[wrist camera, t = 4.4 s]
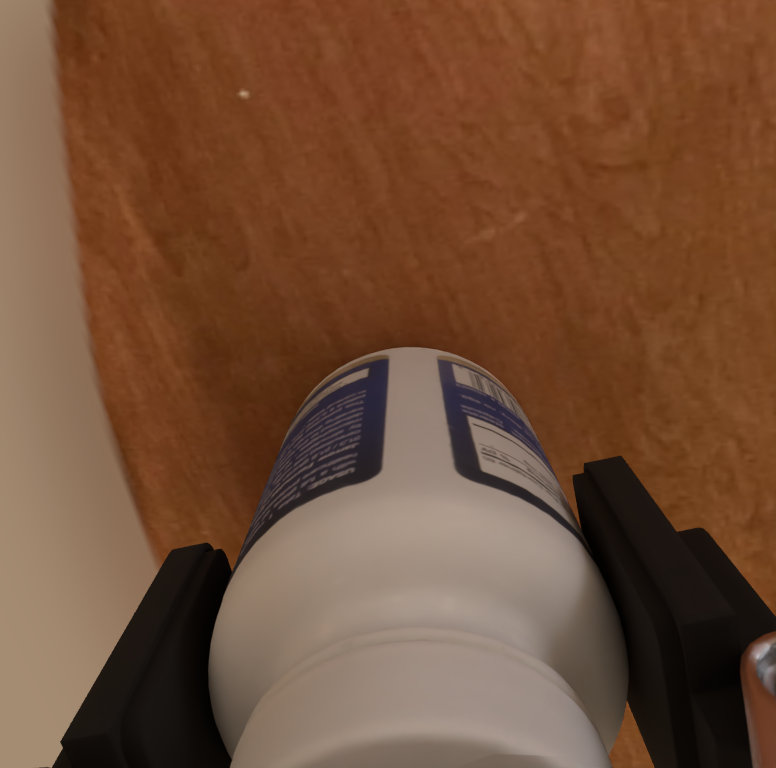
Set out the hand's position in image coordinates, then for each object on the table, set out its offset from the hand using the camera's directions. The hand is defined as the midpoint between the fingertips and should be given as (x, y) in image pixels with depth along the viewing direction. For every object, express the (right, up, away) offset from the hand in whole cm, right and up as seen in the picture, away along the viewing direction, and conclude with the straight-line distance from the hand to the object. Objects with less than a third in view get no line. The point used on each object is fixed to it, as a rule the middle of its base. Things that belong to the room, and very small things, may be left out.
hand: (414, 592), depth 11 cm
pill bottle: (0, +2, +5) cm, 5 cm away
